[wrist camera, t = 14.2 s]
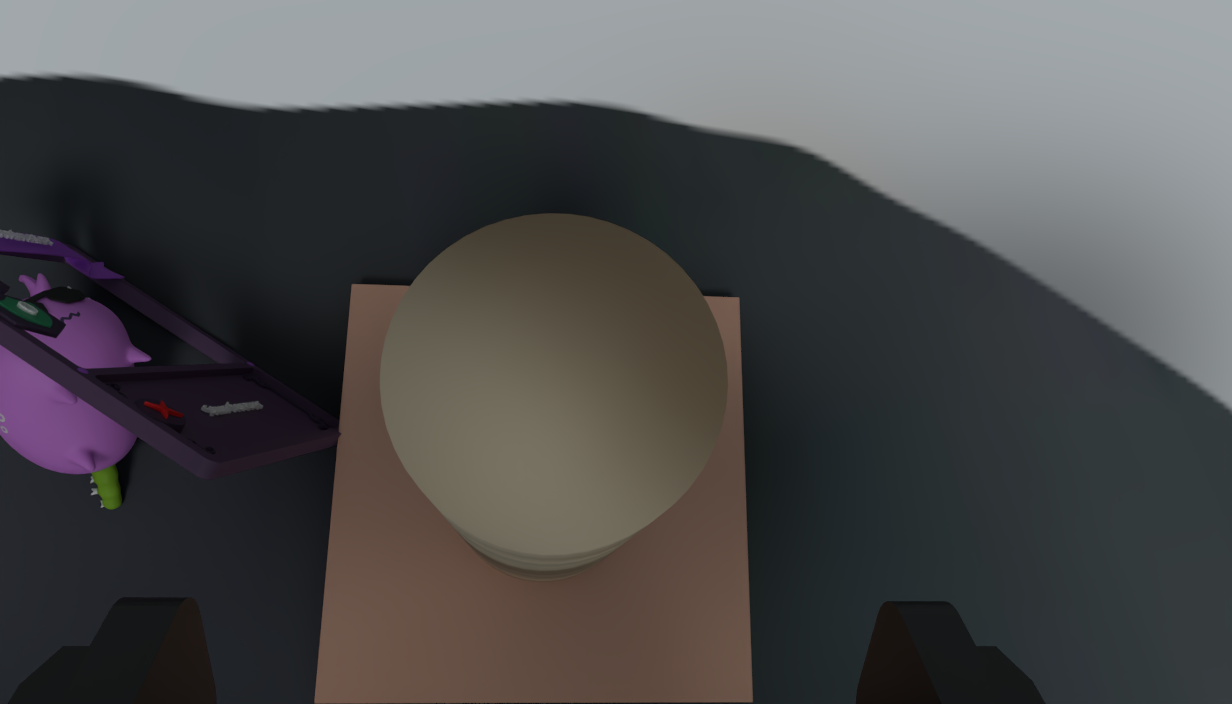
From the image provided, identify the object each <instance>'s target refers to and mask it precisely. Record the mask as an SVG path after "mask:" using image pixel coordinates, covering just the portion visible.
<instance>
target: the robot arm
mask: <svg viewBox="0 0 1232 704" xmlns="http://www.w3.org/2000/svg"><path fill="white" fill-rule="evenodd" d="M8 704H216V690H215V684H214V679H213V674H212V669H211V664H210V659H209V654H208V650H207V645H206V640H205V635H204V630H203V625H202V620H201V615H200V611H199V607H198V604H197V602H196V601H195V600H194V599H193V598H130V597H124V598H121V599H119V600H118V601H117V602H116V603H115V604H114V605H113V606H112V608H111V610H110V611H109V613H108V615H107V616H106V618H105V620H104V622H103V624H102V625H101V627H100V629H99V631H98V632H97V634H96V636H95V638H94V640H93V641H92V643H91V645H90V646H63V647H62V648H61V649H60V650H58V651H57V652H56V653H55V654H54V655H53V656H52V657H50V658H49V659H48V660H47V661H46V662H45V663H44V664H42V665H41V666H40V667H39V668H38V669H37V670H36V671H34V672H33V673H32V674H31V675H30V676H29V677H28V678H26V679H25V680H24V681H23V682H22V683H21V684H20V685H19V686H18V688H17V690H16V691H15V693H14V694H13V696H12V698H11V699H10V701H9V702H8ZM856 704H1045V702H1044V700H1043V699H1042V697H1041V695H1040V693H1039V692H1038V690H1037V688H1036V686H1035V685H1034V683H1033V681H1032V680H1031V679H1030V678H1029V677H1028V676H1026V675H1025V674H1024V673H1023V672H1022V671H1021V670H1020V669H1019V668H1018V667H1017V666H1016V665H1015V664H1014V663H1013V662H1012V661H1011V660H1010V659H1009V658H1007V657H1006V656H1005V655H1004V654H1003V653H1002V652H1001V651H1000V650H999V649H998V648H997V647H996V646H976V645H975V643H974V642H973V640H972V638H971V636H970V634H969V632H968V630H967V628H966V627H965V625H964V623H963V621H962V619H961V617H960V615H959V613H958V612H957V610H956V609H955V608H954V606H953V605H951V604H950V603H949V602H944V601H887V602H885V603H883V605H882V606H881V608H880V610H879V613H878V616H877V619H876V623H875V627H874V630H873V634H872V637H871V641H870V645H869V648H868V652H867V655H866V659H865V663H864V666H863V670H862V673H861V677H860V681H859V684H858V689H857V696H856Z"/></svg>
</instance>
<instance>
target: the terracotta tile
mask: <svg viewBox="0 0 1232 704" xmlns="http://www.w3.org/2000/svg"><path fill="white" fill-rule="evenodd" d="M409 287H410V286H397V285H369V284H352V288H351V299H350V310H349V321H348V333H347V344H346V355H345V366H344V377H343V389H342V400H341V411H340V422H339V432H340V433H341V435H340V436H339V438H338V444H337V456H336V467H335V478H334V489H333V500H332V512H331V523H330V534H329V545H328V556H327V567H326V579H325V590H324V601H323V612H322V623H321V634H320V646H319V657H318V668H317V679H316V690H315V702H314V703H650V702H753V692H752V662H751V632H750V603H749V573H748V543H747V513H746V484H745V454H744V424H743V394H742V365H741V335H740V305H739V297H711V296H703V297H704V298H705V300H706V301H707V303H708V305H709V307H710V309H711V312H712V314H713V316H714V318H715V320H716V322H717V325H718V328H719V331H720V335H721V338H722V341H723V345H724V350H725V356H726V361H727V375H728V391H727V403H726V410H725V415H724V419H723V424H722V428H721V431H720V434H719V436H718V439H717V442H716V445H715V447H714V450H713V452H712V454H711V455H710V457H709V459H708V461H707V463H706V465H705V467H704V469H703V470H702V472H701V473H700V474H699V476H698V477H697V478H696V480H695V481H694V483H693V484H692V485H691V487H690V488H689V489H688V490H687V491H686V492H685V493H684V494H683V495H682V496H681V498H680V499H679V500H678V501H677V502H676V503H675V504H674V505H673V506H671V507H670V508H669V509H668V510H666V511H665V512H664V513H663V514H661V515H660V516H659V517H658V518H656V519H655V520H654V521H652V522H651V523H650V524H649V525H647V526H646V527H645V528H643V529H642V530H641V531H640V532H638V533H637V534H636V535H634V536H633V537H632V538H631V539H629V540H628V541H627V542H625V543H624V544H623V545H622V546H620V547H619V548H618V549H616V550H615V551H614V552H612V553H611V554H610V555H609V556H607V557H606V558H605V559H603V560H602V561H601V562H600V563H598V564H597V565H596V566H594V567H592V568H591V569H589V570H587V571H586V572H583V573H581V574H579V575H576V576H574V577H571V578H567V579H564V580H558V581H551V582H535V581H527V580H522V579H518V578H515V577H512V576H509V575H507V574H504V573H502V572H500V571H498V570H497V569H495V568H493V567H492V566H490V565H489V564H488V563H486V562H485V561H484V560H483V559H481V558H480V557H479V556H478V555H477V554H476V553H475V552H474V550H473V549H472V548H471V547H470V546H469V545H468V544H467V543H466V541H465V540H464V539H463V538H462V537H461V536H460V535H459V533H458V532H457V531H456V530H455V529H454V528H453V526H452V525H451V524H450V523H449V522H448V521H447V520H446V518H445V517H444V516H443V515H442V514H441V513H440V512H439V510H438V509H437V508H436V507H435V506H434V505H433V503H432V502H431V501H430V500H429V499H428V498H427V497H426V495H425V494H424V493H423V492H422V491H421V490H420V489H419V487H418V486H417V485H416V483H415V482H414V480H413V479H412V478H411V476H410V475H409V474H408V472H407V471H406V470H405V468H404V466H403V464H402V462H401V460H400V459H399V457H398V455H397V453H396V451H395V449H394V447H393V444H392V441H391V439H390V436H389V433H388V431H387V428H386V424H385V419H384V415H383V410H382V406H381V395H380V366H381V357H382V352H383V347H384V342H385V338H386V335H387V332H388V329H389V326H390V323H391V320H392V317H393V315H394V313H395V311H396V309H397V307H398V305H399V303H400V301H401V299H402V297H403V296H404V295H405V293H406V292H407V290H408V289H409Z"/></svg>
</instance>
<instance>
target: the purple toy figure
mask: <svg viewBox="0 0 1232 704" xmlns="http://www.w3.org/2000/svg"><path fill="white" fill-rule="evenodd" d="M0 254H1V255H9V256H16V257H24V258H32V259H39V260H47V261H55V262H62V263H66V264H68V265H70V266H71V267H73V268H74V269H76V270H77V271H79V272H80V273H82V274H83V275H85V276H86V277H88V278H89V279H91V280H92V281H94V282H95V283H97V284H98V285H100V286H101V287H103V288H104V289H106V290H108V291H109V292H111V293H112V294H114V295H115V296H117V297H118V298H120V299H121V300H123V301H124V302H126V303H127V304H129V305H130V306H132V307H133V308H135V309H136V310H138V311H139V312H141V313H143V314H144V315H146V316H147V317H149V318H150V319H152V320H153V321H155V322H156V323H158V324H159V325H161V326H162V327H164V328H165V329H167V330H168V331H170V332H171V333H173V334H174V335H176V336H178V337H179V338H181V339H182V340H184V341H185V342H187V343H188V344H190V345H191V346H193V347H194V348H196V349H197V350H199V351H200V352H202V353H203V354H205V355H206V356H208V357H209V358H211V359H212V360H214V361H216V362H217V363H219V364H198V365H171V366H144V367H135V366H134V363H135V362H146V361H150V360H151V357H150V356H149V355H147V354H146V353H144V352H142V351H141V350H139V349H137V348H136V347H134V346H133V345H132V343H131V342H130V339H129V336H128V334H127V332H126V329H125V327H124V326H123V324H122V322H121V321H120V319H119V318H118V317H117V316H116V315H115V314H114V313H113V312H112V311H111V310H110V309H108V308H107V307H105V306H104V305H102V304H100V303H98V302H96V301H94V300H91V299H90V298H89V297H88V298H85V296H84V295H83V294H82V293H81V292H80V291H78V290H75V289H72V288H71V287H69V286H68V287H67V288H66V287H57V288H53V289H51V287H50V285H49V283H48V281H47V279H46V278H45V276H44V275H42V274H40V273H39V274H38V276H37V281H36V280H34V279H33V278H31V277H29V276H27V275H21V276H20V277H19V281H20V282H23V283H24V284H25V285H26V287H27V288H28V290H29V292H30V297H29V298H26V299H23V300H20V299H17V298H14V297H10V296H7V295H4V294H5V293H6V292H7V291H8V290H9V288H10V287H9V286H8V285H6V284H5V283H3V282H2V281H0V435H1V437H2V438H3V439H4V440H5V441H6V442H7V443H8V444H9V445H10V446H11V447H12V448H13V449H15V450H16V451H17V452H18V453H20V454H21V455H22V456H24V457H25V458H27V459H28V460H30V461H31V462H33V463H35V464H37V465H39V466H41V467H44V468H46V469H49V470H52V471H56V472H60V473H66V474H87V473H92V475H93V476H91V478H92V480H91V482H90V483H92V482H95V483H96V484H97V486H98V488H92V490H93V493H91V495H94V494H99V495H100V496H101V497H102V501H100V502H101V503H102V505H101V508H102V507H105V508H107V509H115V508H117V507H119V506H120V505H121V503H122V496H121V487H120V484H119V481H118V470H117V468H116V463H117V462H119V461H120V460H121V459H122V458H123V457H124V456H125V455H126V454H127V453H128V452H129V451H130V449H131V448H132V447H133V445H134V443H135V441H136V439H137V437H138V438H140V439H141V440H143V441H144V442H146V443H147V444H149V445H150V446H152V447H153V448H155V449H156V450H158V451H159V452H161V453H162V454H164V455H165V456H167V457H168V458H170V459H171V460H173V461H174V462H176V463H177V464H179V465H180V466H182V467H183V468H185V469H186V470H188V471H189V472H191V473H192V474H194V475H195V476H197V477H199V478H202V479H206V480H212V479H216V478H220V477H223V476H227V475H231V474H234V473H238V472H242V471H245V470H249V469H253V468H256V467H260V466H264V465H267V464H271V463H275V462H278V461H282V460H286V459H289V458H293V457H297V456H300V455H304V454H308V453H311V452H315V451H319V450H322V449H326V448H330V447H333V446H337V444H338V438H339V436H340V435H341V433H340V432H339V422H340V420H338V419H337V418H335V417H334V416H332V415H331V414H329V413H328V412H326V411H325V410H323V409H322V408H320V407H318V406H317V405H315V404H314V403H312V402H311V401H309V400H308V399H306V398H305V397H303V396H302V395H300V394H299V393H297V392H296V391H294V390H293V389H291V388H289V387H288V386H286V385H285V384H283V383H282V382H280V381H279V380H277V379H276V378H274V377H273V376H271V375H270V374H268V373H267V372H265V371H264V370H262V369H260V368H259V367H257V366H256V365H254V364H253V363H251V362H250V361H248V360H247V359H245V358H244V357H242V356H241V355H239V354H238V353H236V352H235V351H233V350H231V349H230V348H228V347H227V346H225V345H224V344H222V343H221V342H219V341H218V340H216V339H215V338H213V337H212V336H210V335H209V334H207V333H206V332H204V331H202V330H201V329H199V328H198V327H196V326H195V325H193V324H192V323H190V322H189V321H187V320H186V319H184V318H183V317H181V316H180V315H178V314H177V313H175V312H173V311H172V310H170V309H169V308H167V307H166V306H164V305H163V304H161V303H160V302H158V301H157V300H155V299H154V298H152V297H151V296H149V295H148V294H146V293H144V292H143V291H141V290H140V289H138V288H137V287H135V286H134V285H132V284H131V283H129V282H128V281H126V280H125V279H123V278H125V277H123V276H121V275H119V274H117V273H114V272H112V271H111V270H109V269H108V268H106V267H105V266H104V263H103V262H97V261H96V260H94V259H93V258H91V257H90V256H88V255H86V254H85V253H83V252H82V251H80V250H79V249H77V248H76V247H74V246H72V245H69V244H67V243H63V242H59V241H57V240H54V239H51V238H46V237H41V236H36V235H32V234H24V233H17V232H16V233H15V232H12V231H11V230H9V231H5V230H0Z"/></svg>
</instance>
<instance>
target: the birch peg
mask: <svg viewBox="0 0 1232 704" xmlns="http://www.w3.org/2000/svg"><path fill="white" fill-rule="evenodd" d="M727 391H728V375H727V361H726V356H725V350H724V345H723V341H722V338H721V335H720V331H719V328H718V325H717V322H716V320H715V318H714V316H713V314H712V312H711V309H710V307H709V305H708V303H707V301H706V300H705V298H704V297H703V295H702V294H701V292H700V290H699V289H698V287H697V286H696V284H695V283H694V282H693V281H692V280H691V278H690V277H689V276H688V275H687V274H686V272H685V271H684V270H683V269H682V268H681V267H680V266H679V265H678V264H677V263H676V262H675V261H674V260H673V259H672V258H671V257H670V256H668V255H667V254H666V253H665V252H663V251H662V250H661V249H659V248H658V247H657V246H655V245H654V244H652V243H651V242H650V241H648V240H646V239H644V238H643V237H641V236H639V235H637V234H635V233H634V232H632V231H630V230H627V229H625V228H623V227H620V226H618V225H615V224H613V223H610V222H606V221H603V220H599V219H595V218H592V217H587V216H580V215H573V214H556V213H544V214H534V215H524V216H520V217H515V218H511V219H506V220H502V221H500V222H497V223H494V224H491V225H488V226H485V227H483V228H481V229H479V230H477V231H475V232H473V233H471V234H469V235H467V236H465V237H463V238H462V239H460V240H459V241H457V242H456V243H454V244H453V245H451V246H450V247H448V248H447V249H445V250H444V251H443V252H442V253H441V254H439V255H438V256H437V257H436V258H435V259H434V260H432V261H431V262H430V263H429V264H428V265H427V266H426V267H425V269H424V270H423V271H422V272H421V273H420V274H419V275H418V276H417V278H416V279H415V280H414V281H413V283H412V284H411V286H410V287H409V289H408V290H407V292H406V293H405V295H404V296H403V297H402V299H401V301H400V303H399V305H398V307H397V309H396V311H395V313H394V315H393V317H392V320H391V323H390V326H389V329H388V332H387V335H386V338H385V342H384V347H383V352H382V357H381V366H380V395H381V406H382V410H383V415H384V419H385V424H386V428H387V431H388V433H389V436H390V439H391V441H392V444H393V447H394V449H395V451H396V453H397V455H398V457H399V459H400V460H401V462H402V464H403V466H404V468H405V470H406V471H407V472H408V474H409V475H410V476H411V478H412V479H413V480H414V482H415V483H416V485H417V486H418V487H419V489H420V490H421V491H422V492H423V493H424V494H425V495H426V497H427V498H428V499H429V500H430V501H431V502H432V503H433V505H434V506H435V507H436V508H437V509H438V510H439V512H440V513H441V514H442V515H443V516H444V517H445V518H446V520H447V521H448V522H449V523H450V524H451V525H452V526H453V528H454V529H455V530H456V531H457V532H458V533H459V535H460V536H461V537H462V538H463V539H464V540H465V541H466V543H467V544H468V545H469V546H470V547H471V548H472V549H473V550H474V552H475V553H476V554H477V555H478V556H479V557H480V558H481V559H483V560H484V561H485V562H486V563H488V564H489V565H490V566H492V567H493V568H495V569H497V570H498V571H500V572H502V573H504V574H507V575H509V576H512V577H515V578H518V579H522V580H527V581H535V582H551V581H558V580H564V579H567V578H571V577H574V576H576V575H579V574H581V573H583V572H586V571H587V570H589V569H591V568H592V567H594V566H596V565H597V564H598V563H600V562H601V561H602V560H603V559H605V558H606V557H607V556H609V555H610V554H611V553H612V552H614V551H615V550H616V549H618V548H619V547H620V546H622V545H623V544H624V543H625V542H627V541H628V540H629V539H631V538H632V537H633V536H634V535H636V534H637V533H638V532H640V531H641V530H642V529H643V528H645V527H646V526H647V525H649V524H650V523H651V522H652V521H654V520H655V519H656V518H658V517H659V516H660V515H661V514H663V513H664V512H665V511H666V510H668V509H669V508H670V507H671V506H673V505H674V504H675V503H676V502H677V501H678V500H679V499H680V498H681V496H682V495H683V494H684V493H685V492H686V491H687V490H688V489H689V488H690V487H691V485H692V484H693V483H694V481H695V480H696V478H697V477H698V476H699V474H700V473H701V472H702V470H703V469H704V467H705V465H706V463H707V461H708V459H709V457H710V455H711V454H712V452H713V450H714V447H715V445H716V442H717V439H718V436H719V434H720V431H721V428H722V424H723V419H724V415H725V410H726V403H727Z"/></svg>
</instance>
